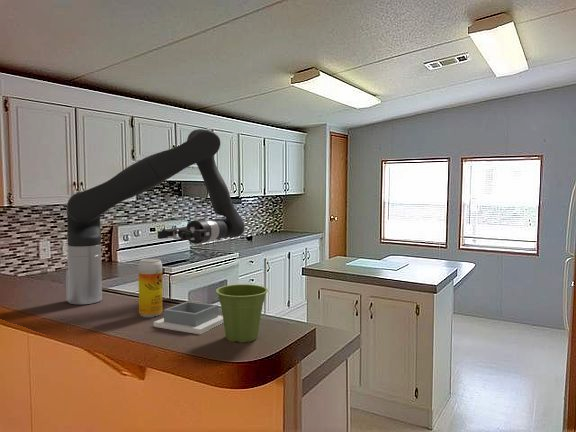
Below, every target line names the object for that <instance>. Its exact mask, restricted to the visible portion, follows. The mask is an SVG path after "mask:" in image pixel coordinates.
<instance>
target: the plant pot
mask: <svg viewBox="0 0 576 432" xmlns="http://www.w3.org/2000/svg"><path fill="white" fill-rule="evenodd" d="M268 291H269V289H268V288H267V287H265V286H264V285H258V284H250V283H249V284H247V283H246V284H245V283H243V284H241V283H239V284H238V283H237V284H228V285H223V286H219V287H218V288H216V289H215V293H216V294H217V296H218V301H219V304H220V307H221V314H222V315H221V316H223V321H224V323H223V326H224V327H223V328H224V332H225V337H226V340H228V341H229V342H238V343H249V342H253V341H255V340H256V339H257V338H258V335H259V330H260V324H261V316H262V312H263V311H262V310H263V305H264V303H265V299H266V294H267V293H268Z"/></svg>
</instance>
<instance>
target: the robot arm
mask: <svg viewBox="0 0 576 432" xmlns="http://www.w3.org/2000/svg"><path fill="white" fill-rule="evenodd" d="M220 148H221V139H220V137H219V135H218V134H217V133H216V132H215V131H213V130H211V129H201V128H199V129H194V130H192V131H191V132H190V133H189V134H188V136H187V139H186V141H184V142H183V143H182V144H179V145H177V146H175V147H173V148H170V149H166V150H163V151H159V152H156V153H153V154H151V155H149V156H146V157H144V158H142V159H139V160H138V161H136V162H134V163H132V164H131V165H129V166H127V167H126V168H124V169H123V170H121V171H119V172H118V173H117V174H116V175H114V176H112V178H110V179H109V180H107V181H105V182H103V183H101V184H97V185H96V186H94V187H91V188H89V189H86V190H82V191H79V192H76V193H74V194H73V195H71V197H70V198H69V199H68V200H67V203H66V217H67V218H66V220H67V221H66V222H67V223H66V224H67V229H66V230H67V231H66V235H67V236H66V237H67V238H66V239H67V269H66V271H65V287H66V288H65V293H66V295H65V298H66V299H65V301H66V302H68V303H69V304H71V305H88V304H89V305H91V304H95V303H99V302H101V301H102V299H103V279H102V278H103V277H102V276H103V275H102V269H103V268H102V266H103V265H102V233H101V231H102V230H101V228H102V227H101V216H102V215H103V214H104V213H106V212H107V211H109V210H110V209H111V208H113V207H116V205H118V204H120V203H122V202H124V201H126V200H128V199H132V198H134V197H136V196H138V195H141V194H142V193H145V192H146V191H149V190H151V189H153V188H155V187H156V186H159V185H161V184H162V183H163V182H165V181H167V180H168V179H170V178H172V177H174V176H175V175H177V174H179V173H180V172H182V171H183V170H185V169H187V168H189V167H191V166H193V165H196V166H197V168H198V170H199V173H200V176H201V178H202V180H203V182H204V185H205V188H206V190H207V194H208V197H209V200H210V203H211V207H212V209H213V212H214V213H215V214H216V215H219V216H223V217H224V218H214V219H213V218H212V219H209V218H208V219H195V220H191V221H189V222H188V223H187V224H186V225H185V226H182V227H172V228H163V229H161V230H160V231H159V230H158V231H157V239H158V240H160V239H161V240H162V239H173V240H181V241H185V240H187V241H188V242H189V243H191V244H192V245H200V244H205V243H210V242H212V241H217V240H221V239H224V238H236V237H237V238H238V237H240V236H242V235H243V234H244V233H245V222H244V220H243V218H242V216H241V215H240V214H239V212H238V210H237V208H236V207H235V205H234V204H233V200H232V198H231V195H230V192H229V187H228V186H227V184H226V182H225V180H224V178H223V177H222V175H221V173H220V171H219V169H218V166H217V164H216V161H215V155H216V154H218V151H219V150H220Z"/></svg>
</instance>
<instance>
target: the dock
mask: <svg viewBox="0 0 576 432" xmlns="http://www.w3.org/2000/svg"><path fill="white" fill-rule="evenodd" d="M222 323H223V324H224V321H223V315H221V314H220V315H219V304H212V303H204V302H196V301H189V300H188V301H185V302H183V303H178V304H177V305H173V306H171V307H168V308H165V309H163V317H162V318H161V319H158V320H155V321H153V327H155V328H158V329H159V328H161V329H167V330H172V331H177V332H184V333H189V334H195V335H202V334H205V333H206V332H208V331H210V329H211V330H213V329H215V328H216V326H217V327H219V326H221V325H223V324H222ZM220 324H221V325H220ZM218 325H219V326H218ZM214 327H215V328H214ZM212 328H213V329H212Z"/></svg>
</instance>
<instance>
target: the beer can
mask: <svg viewBox="0 0 576 432" xmlns="http://www.w3.org/2000/svg"><path fill="white" fill-rule="evenodd" d="M162 312H163V263H162V260H161V259H160V258H144V259H140V260H139V263H138V314H140V316H141V317H142V316H143V318H155V317H154V316H156V317H158V315H159V316H161V315H162Z"/></svg>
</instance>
